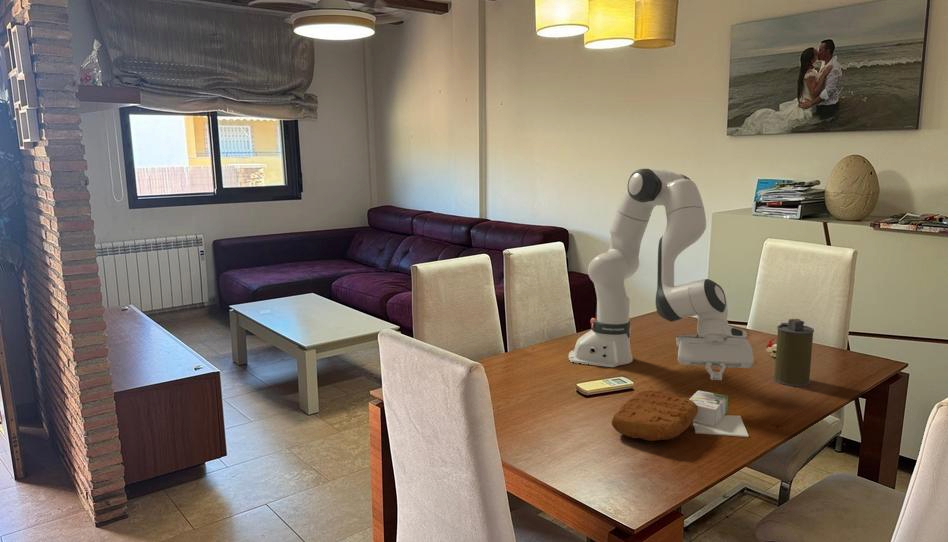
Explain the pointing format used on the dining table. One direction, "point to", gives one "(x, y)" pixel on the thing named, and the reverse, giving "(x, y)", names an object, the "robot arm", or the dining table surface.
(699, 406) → the ink box
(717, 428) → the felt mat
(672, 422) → the cuneiform tablet
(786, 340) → the canister
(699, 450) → the dining table surface
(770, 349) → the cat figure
